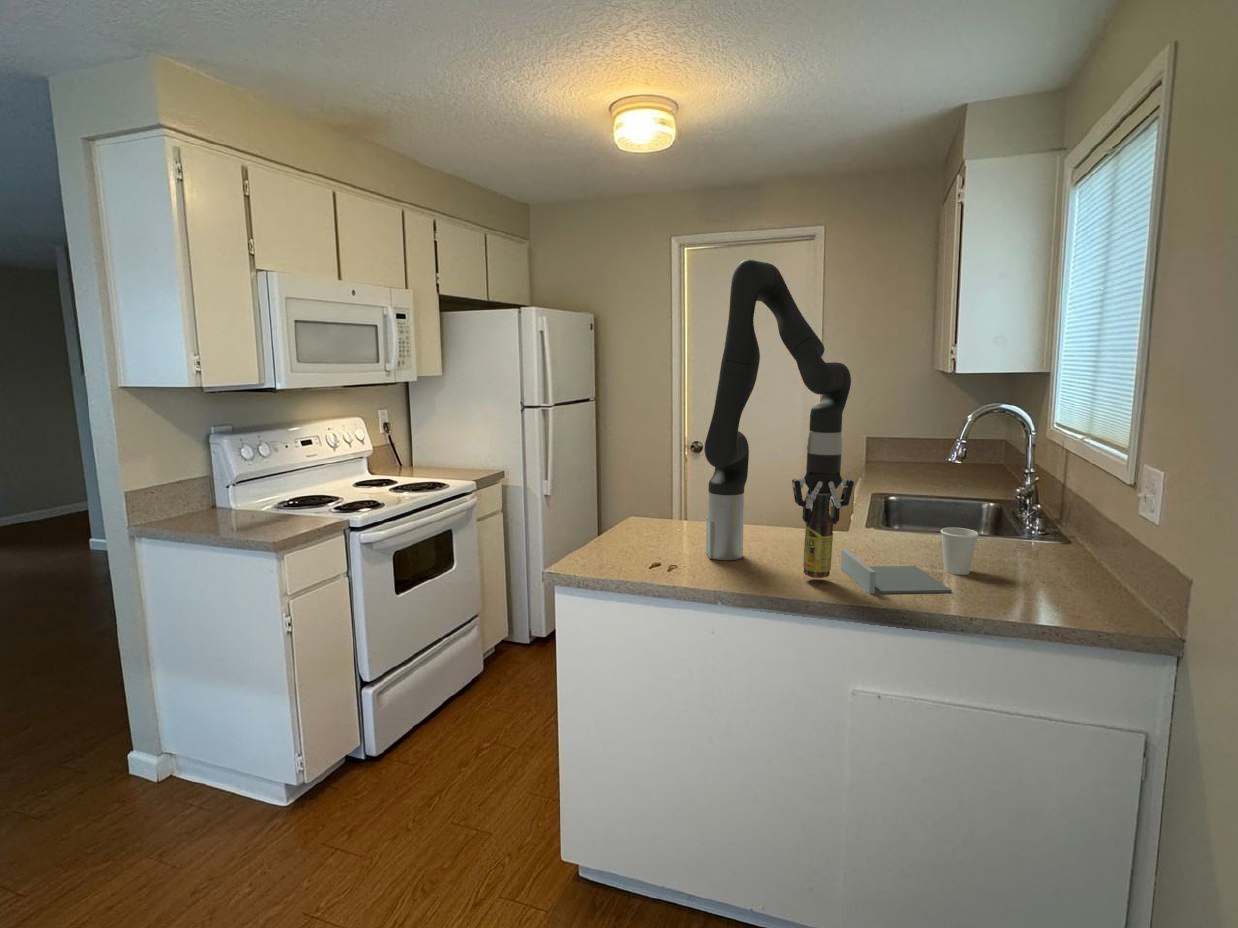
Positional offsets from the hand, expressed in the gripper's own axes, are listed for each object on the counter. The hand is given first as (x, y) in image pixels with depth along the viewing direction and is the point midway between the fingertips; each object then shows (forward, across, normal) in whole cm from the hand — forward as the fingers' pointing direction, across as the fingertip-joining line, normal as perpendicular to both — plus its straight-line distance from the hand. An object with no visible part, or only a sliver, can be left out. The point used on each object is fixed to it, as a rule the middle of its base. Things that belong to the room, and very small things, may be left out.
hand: (820, 523), depth 164 cm
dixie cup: (+14, +36, +6) cm, 39 cm away
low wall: (+14, +9, 0) cm, 17 cm away
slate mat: (+14, +19, 0) cm, 24 cm away
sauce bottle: (+13, 0, 0) cm, 13 cm away
